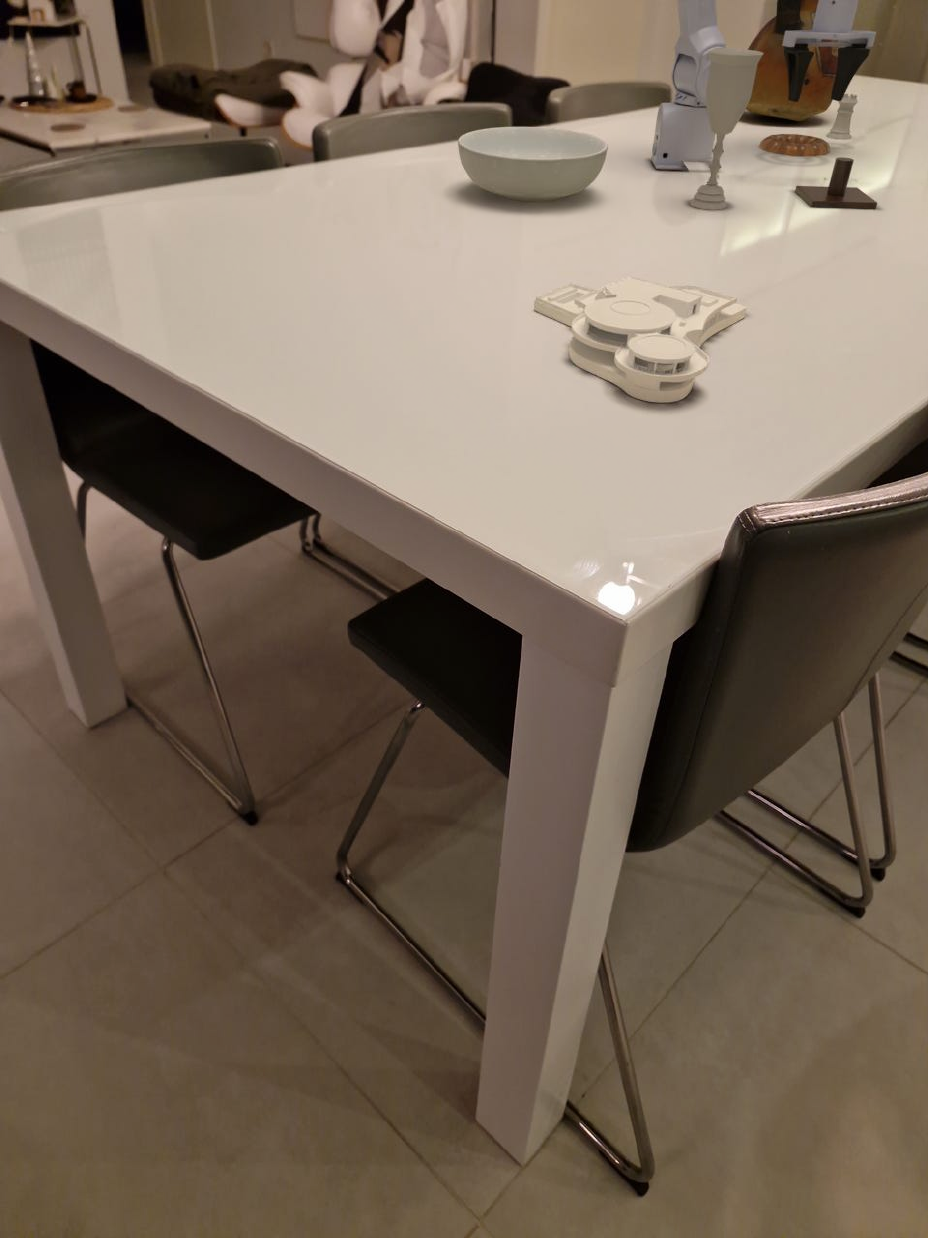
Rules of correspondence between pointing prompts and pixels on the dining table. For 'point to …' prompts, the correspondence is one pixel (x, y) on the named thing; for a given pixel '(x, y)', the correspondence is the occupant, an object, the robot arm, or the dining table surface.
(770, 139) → the ring
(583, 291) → the white architectural building model
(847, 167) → the post
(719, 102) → the chalice
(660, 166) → the robot arm
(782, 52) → the ceramic pitcher
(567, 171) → the serving bowl
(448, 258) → the dining table surface
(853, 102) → the rook chess piece
